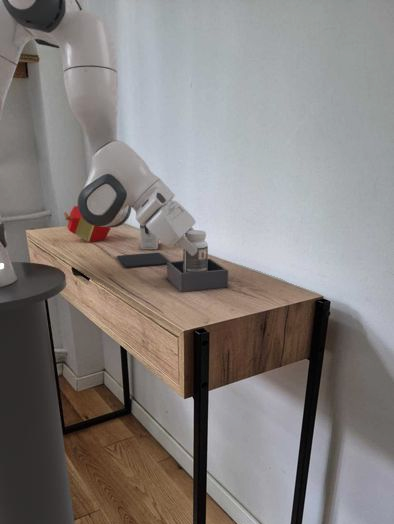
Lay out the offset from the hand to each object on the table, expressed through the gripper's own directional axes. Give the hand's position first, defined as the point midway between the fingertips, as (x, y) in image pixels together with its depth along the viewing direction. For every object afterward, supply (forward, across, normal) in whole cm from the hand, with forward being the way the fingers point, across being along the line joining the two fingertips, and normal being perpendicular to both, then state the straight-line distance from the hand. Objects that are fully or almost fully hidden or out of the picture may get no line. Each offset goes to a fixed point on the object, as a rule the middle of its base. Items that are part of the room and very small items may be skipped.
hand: (198, 249), depth 110 cm
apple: (-24, -41, -36) cm, 59 cm away
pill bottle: (+4, 0, -5) cm, 6 cm away
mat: (-7, -18, -18) cm, 27 cm away
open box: (+5, 0, -6) cm, 8 cm away
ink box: (-9, -35, -20) cm, 41 cm away
